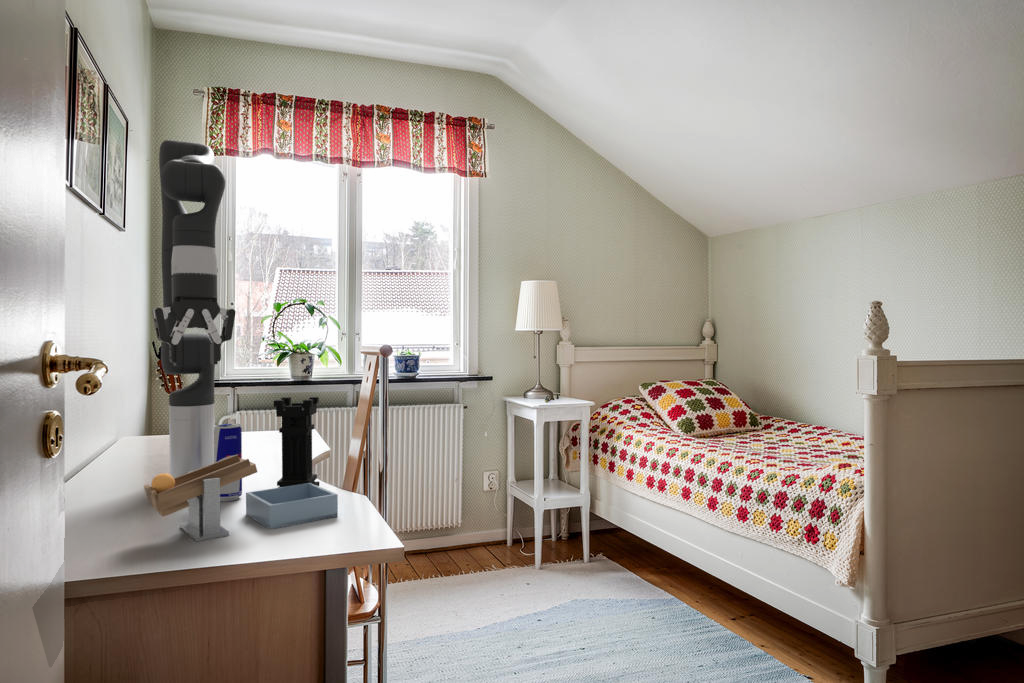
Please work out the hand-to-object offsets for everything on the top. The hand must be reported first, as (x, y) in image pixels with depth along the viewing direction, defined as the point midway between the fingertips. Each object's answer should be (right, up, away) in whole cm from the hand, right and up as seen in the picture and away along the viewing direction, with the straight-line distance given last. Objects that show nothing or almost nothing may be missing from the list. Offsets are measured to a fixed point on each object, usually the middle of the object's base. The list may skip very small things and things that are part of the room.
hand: (195, 364), depth 122 cm
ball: (+1, -19, -14) cm, 24 cm away
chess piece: (+15, -27, +13) cm, 34 cm away
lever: (+5, -21, -8) cm, 23 cm away
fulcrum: (+6, -28, -10) cm, 30 cm away
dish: (+18, -27, 0) cm, 33 cm away
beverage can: (+1, -28, +12) cm, 30 cm away
